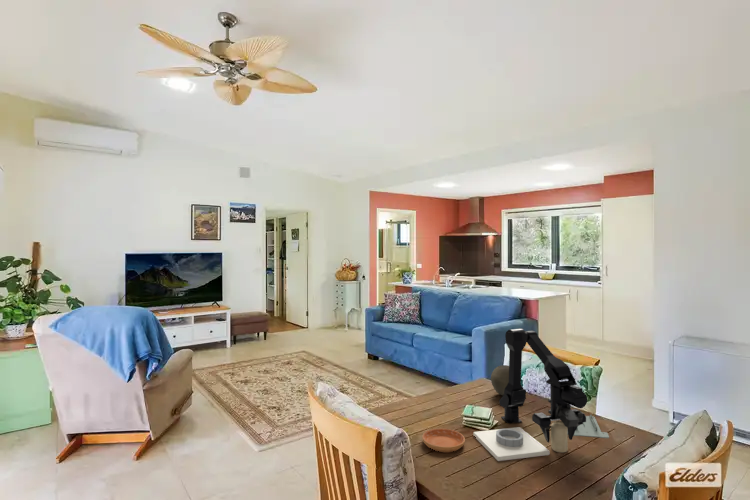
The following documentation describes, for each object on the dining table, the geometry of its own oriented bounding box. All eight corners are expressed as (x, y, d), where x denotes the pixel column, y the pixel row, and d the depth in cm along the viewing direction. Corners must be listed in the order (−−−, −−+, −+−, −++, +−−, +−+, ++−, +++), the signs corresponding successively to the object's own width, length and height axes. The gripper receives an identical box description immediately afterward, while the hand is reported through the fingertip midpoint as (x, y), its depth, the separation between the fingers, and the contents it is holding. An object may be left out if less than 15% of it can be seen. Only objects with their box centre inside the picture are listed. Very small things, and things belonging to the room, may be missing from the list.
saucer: (439, 431, 170) (439, 424, 170) (473, 444, 159) (473, 436, 159) (413, 445, 159) (413, 437, 159) (448, 460, 148) (448, 451, 148)
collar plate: (473, 435, 166) (473, 425, 166) (519, 430, 170) (519, 420, 170) (497, 461, 146) (497, 449, 146) (549, 454, 150) (549, 443, 150)
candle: (566, 454, 150) (566, 426, 150) (550, 450, 153) (549, 423, 153) (568, 447, 155) (568, 420, 155) (552, 444, 158) (552, 417, 158)
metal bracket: (560, 409, 177) (599, 411, 174) (559, 420, 179) (598, 423, 176) (568, 433, 164) (610, 436, 161) (568, 445, 165) (609, 448, 162)
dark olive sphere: (488, 390, 216) (488, 361, 216) (516, 391, 215) (516, 362, 215) (493, 400, 202) (493, 369, 202) (523, 401, 201) (523, 370, 201)
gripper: (549, 409, 144) (549, 454, 144) (596, 404, 148) (597, 448, 148) (531, 397, 155) (531, 439, 155) (575, 393, 159) (576, 434, 159)
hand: (559, 440), depth 154 cm, fingers open, 9 cm apart
